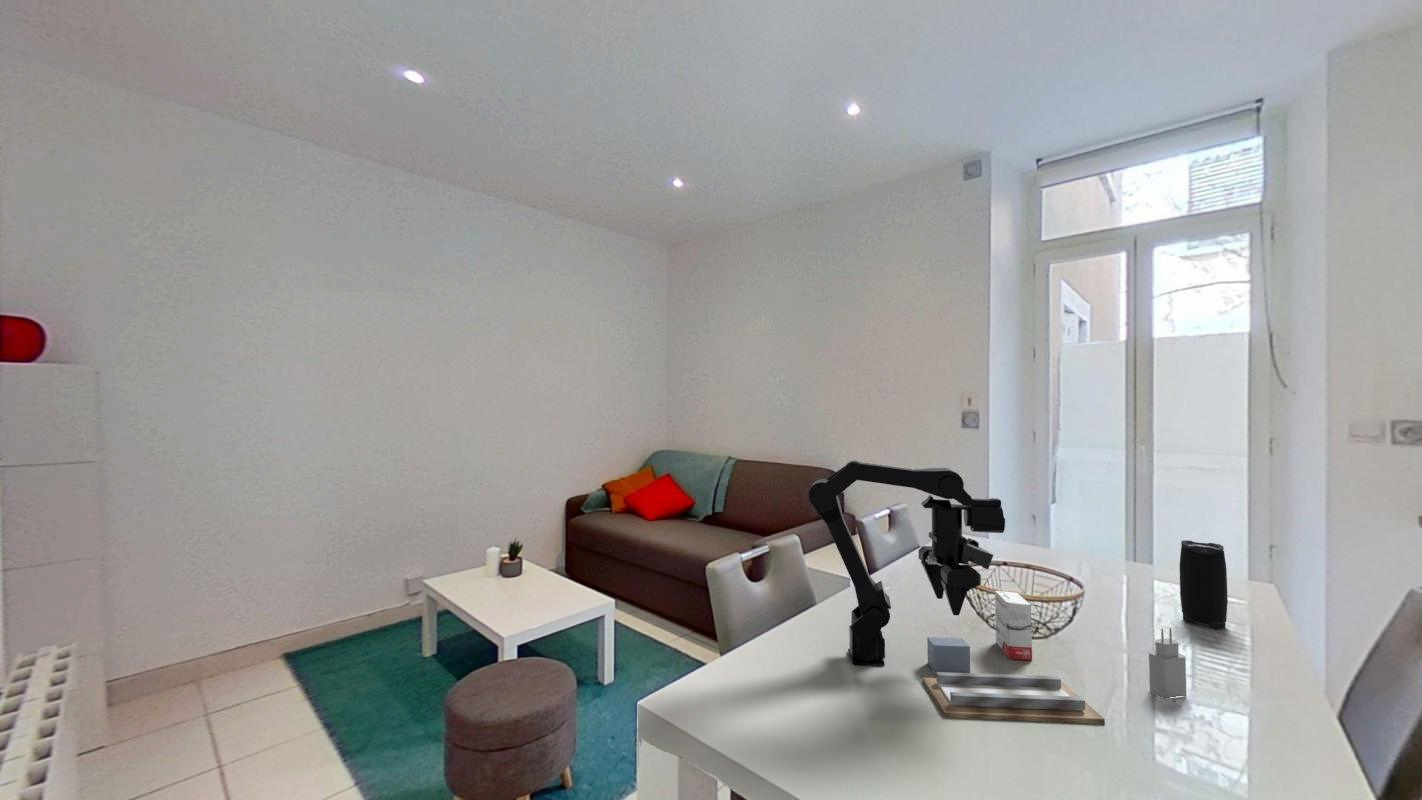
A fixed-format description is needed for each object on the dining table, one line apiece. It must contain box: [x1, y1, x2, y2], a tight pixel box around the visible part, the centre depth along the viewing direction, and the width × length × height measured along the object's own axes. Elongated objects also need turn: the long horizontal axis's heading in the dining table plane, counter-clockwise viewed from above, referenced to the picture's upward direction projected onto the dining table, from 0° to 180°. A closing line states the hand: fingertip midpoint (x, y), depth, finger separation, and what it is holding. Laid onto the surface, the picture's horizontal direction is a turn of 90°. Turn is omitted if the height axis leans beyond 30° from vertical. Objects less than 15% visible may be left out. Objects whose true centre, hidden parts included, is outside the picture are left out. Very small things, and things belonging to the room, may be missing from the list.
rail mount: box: [922, 672, 1106, 725], centre depth 96 cm, size 26×12×3 cm, turn 85°
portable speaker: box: [1179, 539, 1229, 630], centre depth 130 cm, size 9×9×20 cm
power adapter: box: [1148, 627, 1187, 699], centre depth 98 cm, size 3×5×12 cm, turn 101°
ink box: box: [994, 590, 1033, 661], centre depth 116 cm, size 9×5×12 cm, turn 168°
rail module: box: [927, 636, 971, 674], centre depth 108 cm, size 7×4×6 cm, turn 85°
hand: (947, 606), depth 108 cm, fingers open, 9 cm apart
